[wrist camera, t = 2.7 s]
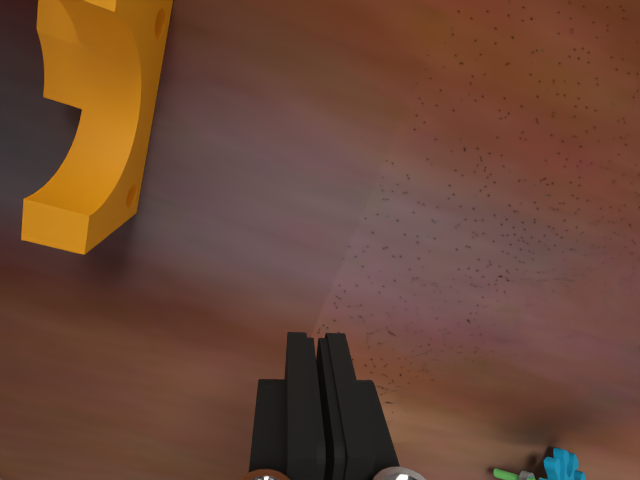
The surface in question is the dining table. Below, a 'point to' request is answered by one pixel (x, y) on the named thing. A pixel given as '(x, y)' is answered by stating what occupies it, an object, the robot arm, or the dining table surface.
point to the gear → (550, 468)
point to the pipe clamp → (97, 114)
